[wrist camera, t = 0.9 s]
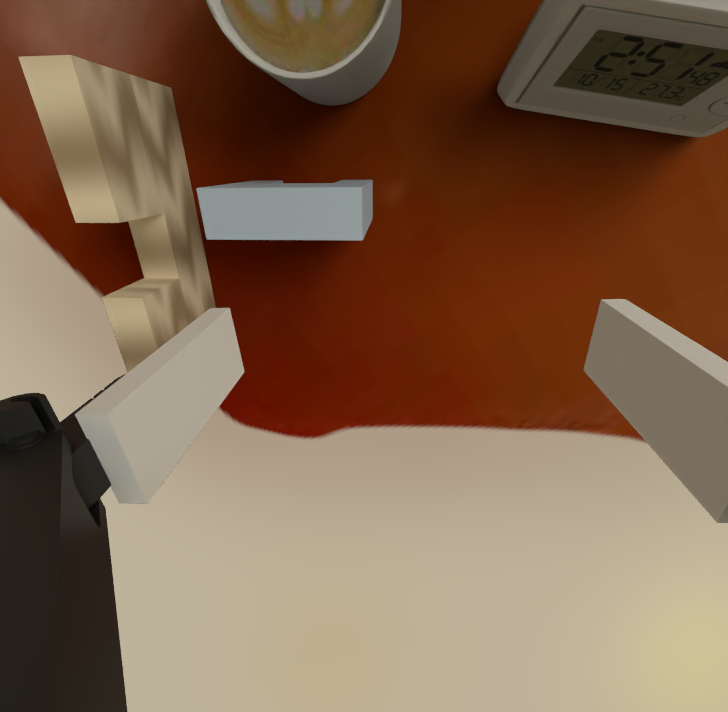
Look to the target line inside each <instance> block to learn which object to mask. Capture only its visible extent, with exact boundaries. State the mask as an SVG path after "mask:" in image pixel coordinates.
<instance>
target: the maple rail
mask: <svg viewBox="0 0 728 712" xmlns="http://www.w3.org/2000/svg"><path fill="white" fill-rule="evenodd" d="M19 60H20V63H21V66H22V69H23V72H24V75H25V78H26V81H27V83H28V86H29V89H30V92H31V95H32V98H33V101H34V104H35V106H36V109H37V112H38V115H39V118H40V121H41V124H42V127H43V130H44V132H45V135H46V138H47V141H48V144H49V147H50V150H51V153H52V156H53V158H54V161H55V164H56V167H57V170H58V173H59V176H60V179H61V181H62V184H63V187H64V190H65V193H66V196H67V199H68V202H69V205H70V207H71V210H72V213H73V216H74V219H75V222H76V223H122V222H126V221H128V222H129V226H130V229H131V233H132V236H133V240H134V243H135V247H136V250H137V254H138V257H139V261H140V264H141V268H142V271H143V275H144V278H143V279H141V280H139V281H137V282H134V283H132V284H130V285H128V286H126V287H123V288H121V289H119V290H117V291H115V292H112V293H110V294H108V295H106V296H104V297H102V300H103V303H104V306H105V308H106V311H107V314H108V317H109V320H110V323H111V326H112V328H113V332H114V334H115V337H116V340H117V343H118V346H119V349H120V352H121V355H122V358H123V360H124V363H125V366H126V369H127V372H129V371H131V370H132V369H133V368H134V367H136V366H137V365H138V364H140V363H141V362H142V361H143V360H145V359H146V358H147V357H149V356H150V355H151V354H152V353H154V352H155V351H156V350H157V349H159V348H160V347H161V346H163V345H164V344H165V343H166V342H168V341H169V340H170V339H172V338H173V337H174V336H175V335H177V334H178V333H179V332H180V331H182V330H183V329H184V328H186V327H187V326H188V325H189V324H191V323H192V322H193V321H194V320H196V319H197V318H198V317H200V316H201V315H202V314H203V313H205V312H206V311H207V310H209V309H210V308H216V305H215V300H214V295H213V291H212V286H211V281H210V276H209V271H208V266H207V261H206V256H205V251H204V246H203V241H202V236H201V231H200V226H199V221H198V216H197V212H196V207H195V202H194V197H193V192H192V187H191V182H190V177H189V172H188V167H187V162H186V157H185V152H184V147H183V142H182V137H181V133H180V128H179V123H178V118H177V113H176V108H175V103H174V98H173V93H172V88H170V87H167V86H164V85H161V84H158V83H155V82H152V81H149V80H146V79H143V78H140V77H137V76H134V75H130V74H127V73H124V72H121V71H118V70H115V69H112V68H109V67H106V66H103V65H100V64H97V63H94V62H91V61H88V60H84V59H81V58H78V57H75V56H72V55H54V56H26V57H19Z"/></svg>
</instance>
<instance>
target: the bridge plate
mask: <svg viewBox="0 0 728 712" xmlns="http://www.w3.org/2000/svg"><path fill="white" fill-rule="evenodd" d="M196 189H197V194H198V199H199V204H200V209H201V214H202V219H203V224H204V229H205V234H206V240H363V239H364V236H365V234H366V232H367V230H368V228H369V225H370V223H371V221H372V219H373V180H341V181H338V182H335V183H283V180H276V181H247V182H239V183H232V184H224V185H216V186H209V187H201V188H196Z"/></svg>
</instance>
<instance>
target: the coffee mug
mask: <svg viewBox="0 0 728 712" xmlns="http://www.w3.org/2000/svg"><path fill="white" fill-rule="evenodd" d="M206 2H207V4H208V6H209V8H210V10H211V12H212V14H213V17H214V19H215V20H216V22H217V23H218V25H219V27H220V28H221V30H222V31H223V33H224V34H225V35H226V37H227V38H228V40H229V41H230V42H231V43H232V44H233V45H234V46H235V48H236V49H237V50H238V51H239V52H240V53H241V54H242V55H243V56H244V57H245V58H247V59H248V60H249V61H250V62H252V63H253V64H254V65H256V66H257V67H258V68H260V69H261V70H263V71H264V72H266V73H267V74H269V75H270V76H272V77H273V78H275V79H276V80H278V81H279V82H281V83H282V84H284V85H285V86H287V87H288V88H290V89H291V90H293V91H294V92H296V93H297V94H299V95H300V96H302V97H303V98H305V99H307V100H309V101H312V102H314V103H318V104H322V105H342V104H346V103H349V102H352V101H354V100H357V99H358V98H360V97H362V96H364V95H365V94H366V93H368V92H369V91H370V90H371V89H372V88H373V87H374V86H375V85H376V84H377V83H378V82H379V81H380V79H381V78H382V77H383V75H384V74H385V72H386V71H387V69H388V67H389V65H390V63H391V61H392V59H393V56H394V53H395V50H396V47H397V44H398V39H399V34H400V27H401V0H206Z"/></svg>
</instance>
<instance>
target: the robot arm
mask: <svg viewBox="0 0 728 712" xmlns="http://www.w3.org/2000/svg"><path fill="white" fill-rule="evenodd" d="M584 371H585V373H586V374H587V375H588V376H589V377H590V378H591V379H592V381H593V382H594V383H595V384H596V385H597V386H598V387H599V388H600V390H601V391H602V392H603V393H604V394H605V395H606V396H607V398H608V399H609V400H610V401H611V402H612V403H613V404H614V406H615V407H616V408H617V409H618V410H619V411H620V412H621V414H622V415H623V416H624V417H625V418H626V419H627V420H628V422H629V423H630V424H631V425H632V426H633V427H634V428H635V430H636V431H637V432H638V433H639V434H640V435H641V436H642V437H643V439H644V440H645V441H646V442H647V443H648V444H649V445H650V447H651V448H652V449H653V450H654V451H655V452H656V453H657V454H658V456H659V457H660V458H661V459H662V460H663V461H664V463H665V464H666V465H667V466H668V467H669V468H670V469H671V470H672V472H673V473H674V474H675V475H676V476H677V477H678V478H679V480H680V481H681V482H682V483H683V484H684V485H685V486H686V487H687V489H688V490H689V491H690V492H691V493H692V494H693V496H695V498H696V499H697V500H698V501H699V502H700V503H701V505H702V506H703V507H704V508H705V509H706V510H707V511H708V512H709V514H710V515H711V516H712V517H713V518H714V520H715V521H716V522H718V523H728V362H727V361H725V360H723V359H722V358H720V357H719V356H717V355H715V354H714V353H712V352H710V351H709V350H707V349H706V348H704V347H702V346H701V345H699V344H697V343H696V342H694V341H693V340H691V339H689V338H688V337H686V336H684V335H683V334H681V333H680V332H678V331H676V330H675V329H673V328H671V327H670V326H668V325H667V324H665V323H663V322H662V321H660V320H658V319H657V318H655V317H654V316H652V315H650V314H649V313H647V312H645V311H644V310H642V309H640V308H639V307H637V306H636V305H634V304H632V303H631V302H629V301H627V300H626V299H605V300H601V302H600V306H599V310H598V314H597V318H596V322H595V326H594V330H593V334H592V338H591V342H590V346H589V350H588V354H587V358H586V362H585V366H584ZM243 373H244V368H243V363H242V359H241V355H240V350H239V346H238V342H237V337H236V333H235V329H234V324H233V320H232V316H231V311H230V308H210V309H209V310H207V311H206V312H205V313H203V314H202V315H201V316H200V317H198V318H197V319H196V320H194V321H193V322H192V323H191V324H189V325H188V326H187V327H186V328H184V329H183V330H182V331H180V332H179V333H178V334H177V335H175V336H174V337H173V338H172V339H170V340H169V341H168V342H166V343H165V344H164V345H163V346H161V347H160V348H159V349H157V350H156V351H155V352H154V353H152V354H151V355H150V356H149V357H147V358H146V359H145V360H143V361H142V362H141V363H140V364H138V365H137V366H136V367H134V368H133V369H132V370H131V371H129V372H128V373H127V374H125V375H123V376H121V377H119V378H117V379H116V380H114V381H113V382H112V383H110V384H109V385H108V386H107V387H105V388H104V390H101V391H100V392H99V393H97V394H96V395H95V396H94V399H90V400H88V401H87V402H86V403H85V404H83V405H82V406H81V407H79V408H78V409H77V410H76V411H74V412H73V413H72V414H70V415H69V416H68V417H67V418H65V419H64V420H63V421H61V422H59V420H58V418H57V416H56V415H55V413H54V411H53V409H52V407H51V405H50V403H49V401H48V400H47V398H46V396H45V395H44V394H40V393H28V394H23V395H17V396H13V397H10V398H7V399H4V400H1V401H0V712H127V706H126V695H125V686H124V677H123V667H122V658H121V649H120V640H119V630H118V621H117V612H116V602H115V594H114V584H113V575H112V565H111V556H110V547H109V538H108V528H107V519H106V510H105V507H104V505H103V503H102V501H101V499H100V497H101V496H102V495H103V494H104V493H105V492H106V491H107V489H108V488H109V487H110V486H111V487H112V490H113V492H114V494H115V496H116V498H117V499H118V502H119V503H128V504H129V503H130V504H148V503H149V502H150V500H151V499H152V498H153V496H154V495H155V493H156V492H157V491H158V489H159V488H160V487H161V485H162V484H163V483H164V481H165V480H166V478H167V477H168V476H169V474H170V473H171V472H172V470H173V469H174V467H175V466H176V465H177V463H178V462H179V461H180V459H181V458H182V457H183V455H184V454H185V452H186V451H187V450H188V448H189V447H190V446H191V444H192V443H193V441H194V440H195V439H196V437H197V436H198V435H199V433H200V432H201V430H202V429H203V427H204V426H205V425H206V424H207V422H208V421H209V420H210V418H211V416H213V414H214V413H215V411H216V410H217V409H218V407H219V406H220V405H221V403H222V402H223V400H224V399H225V398H226V396H227V395H228V394H229V392H230V391H231V390H232V388H233V387H234V385H235V384H236V383H237V381H238V380H239V379H240V377H241V376H242V374H243Z"/></svg>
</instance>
